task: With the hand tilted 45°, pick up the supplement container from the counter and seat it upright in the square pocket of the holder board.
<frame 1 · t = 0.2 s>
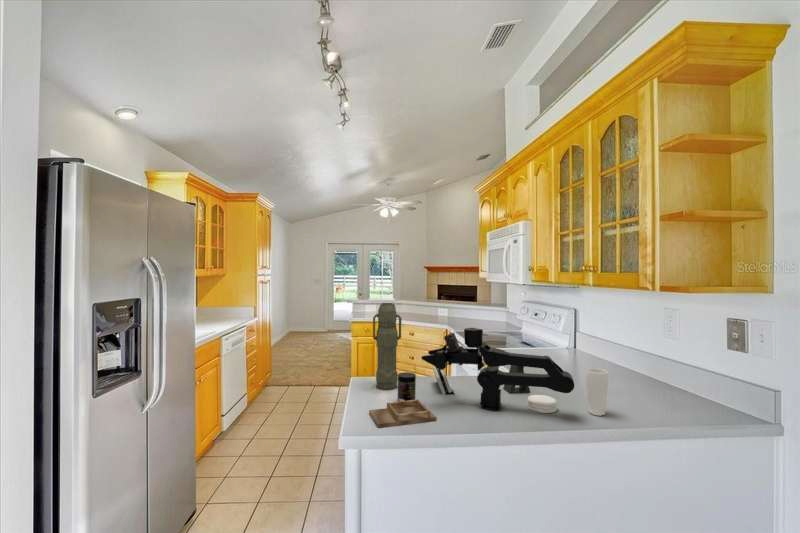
hand: (425, 354, 149), 17 cm above the worktop, tool horizontal, fingers open, 9 cm apart
supplement container: (406, 403, 144), on the worktop
drinking glass: (596, 414, 135), on the worktop
thermos: (386, 387, 162), on the worktop
phone stand: (516, 391, 159), on the worktop
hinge: (442, 388, 162), on the worktop
coaster: (541, 409, 140), on the worktop
holder board: (402, 417, 131), on the worktop
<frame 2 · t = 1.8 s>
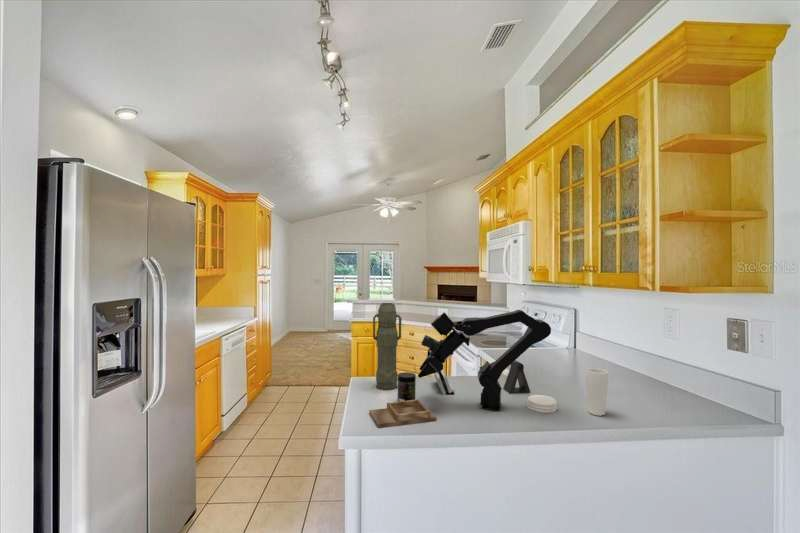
hand: (419, 373, 144), 11 cm above the worktop, tool tilted 45°, fingers open, 9 cm apart
nothing on the worktop moved.
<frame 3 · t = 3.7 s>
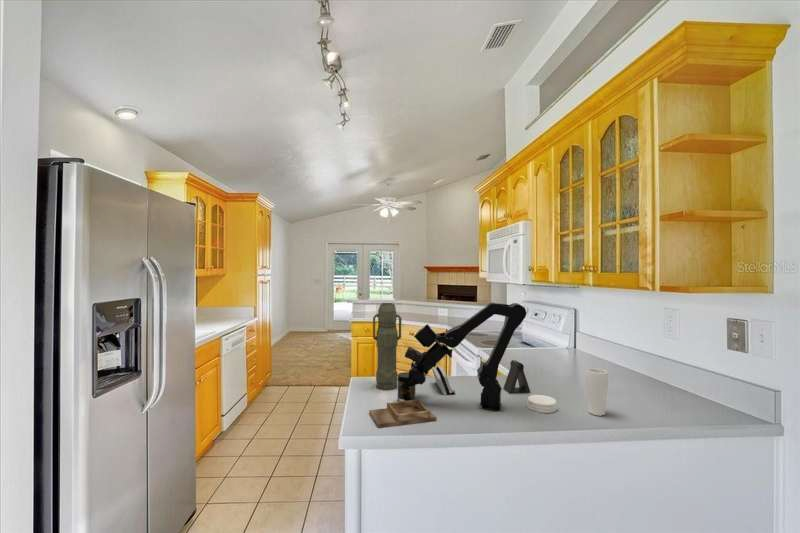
hand: (402, 384, 144), 7 cm above the worktop, tool tilted 45°, fingers closed on supplement container, 7 cm apart
supplement container: (406, 403, 144), on the worktop, touching gripper
everything else where it was.
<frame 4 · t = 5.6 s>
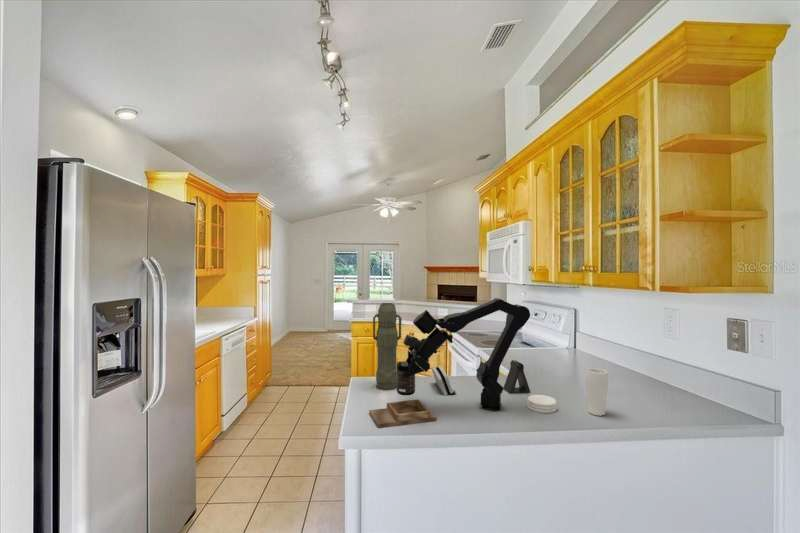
hand: (402, 374, 138), 12 cm above the worktop, tool tilted 45°, fingers closed on supplement container, 7 cm apart
supplement container: (405, 393, 138), point 5 cm above the worktop, touching gripper
everything else where it was.
when the fingers open (9 cm above the worktop, at t = 7.5 s): supplement container drops 1 cm, resting on holder board.
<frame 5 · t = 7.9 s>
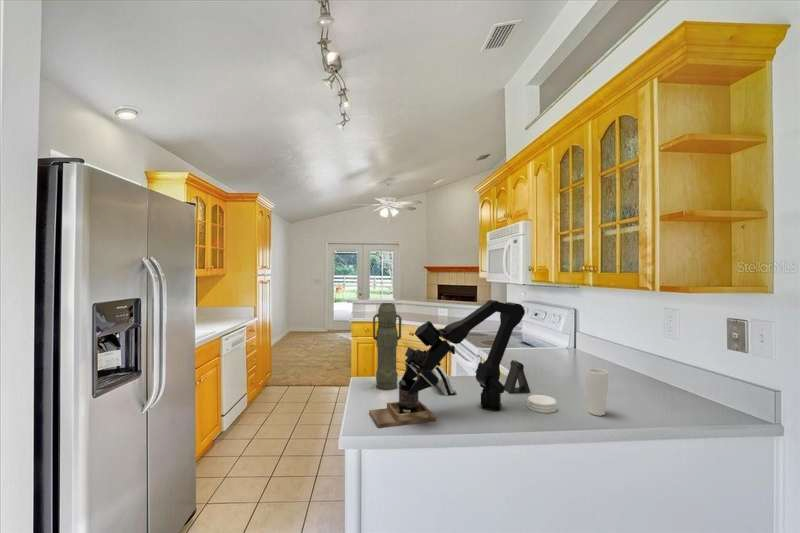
hand: (404, 389, 131), 9 cm above the worktop, tool tilted 45°, fingers open, 9 cm apart
supplement container: (408, 413, 131), point 1 cm above the worktop, touching holder board
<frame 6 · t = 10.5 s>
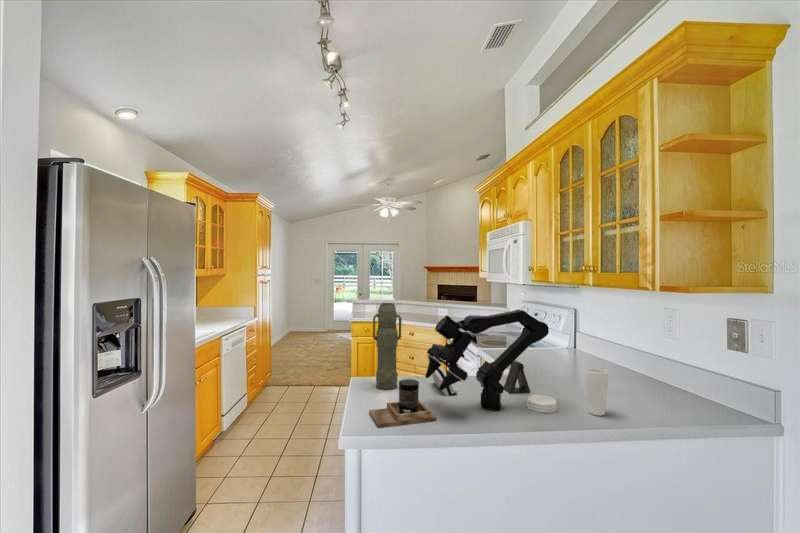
hand: (432, 383, 137), 10 cm above the worktop, tool tilted 35°, fingers open, 9 cm apart
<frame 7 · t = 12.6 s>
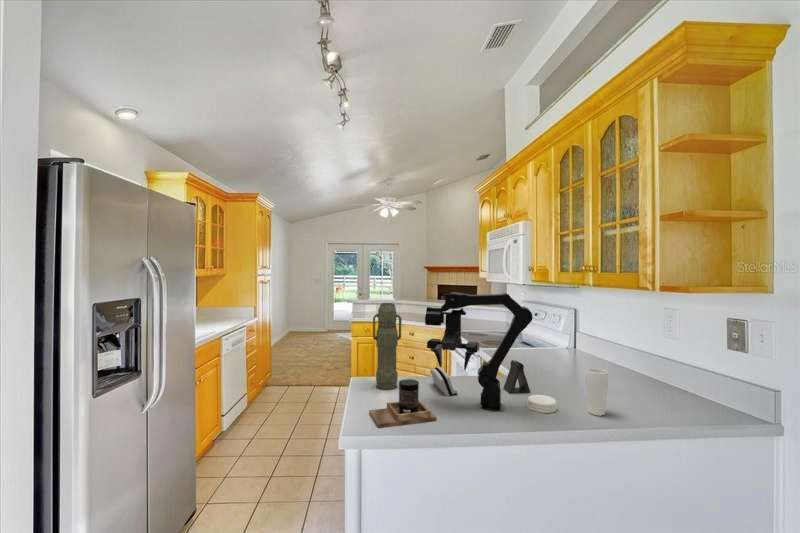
hand: (452, 368, 144), 13 cm above the worktop, tool pointing down, fingers open, 9 cm apart
at the end: supplement container 0.2 cm from the target spot, point 1.0 cm above the worktop; supplement container tilted 0°; the gripper is holding nothing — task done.
